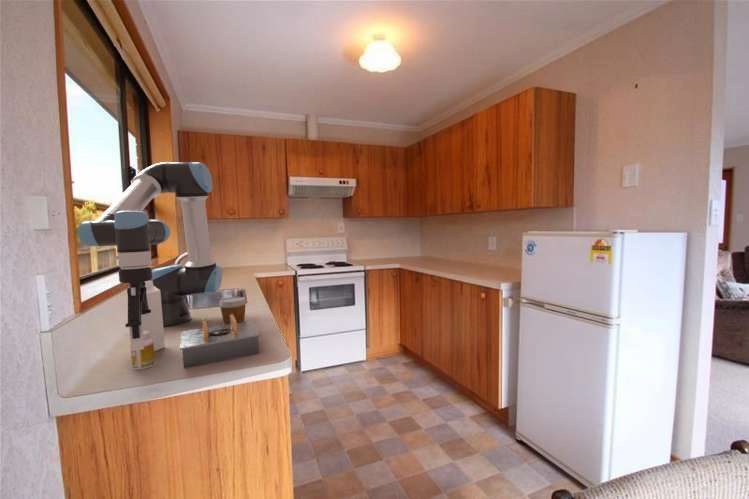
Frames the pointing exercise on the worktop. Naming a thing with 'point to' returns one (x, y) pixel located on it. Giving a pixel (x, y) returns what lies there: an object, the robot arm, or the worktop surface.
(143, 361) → the supplement bottle
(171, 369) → the worktop surface
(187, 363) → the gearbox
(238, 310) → the disposable coffee cup
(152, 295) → the milk
